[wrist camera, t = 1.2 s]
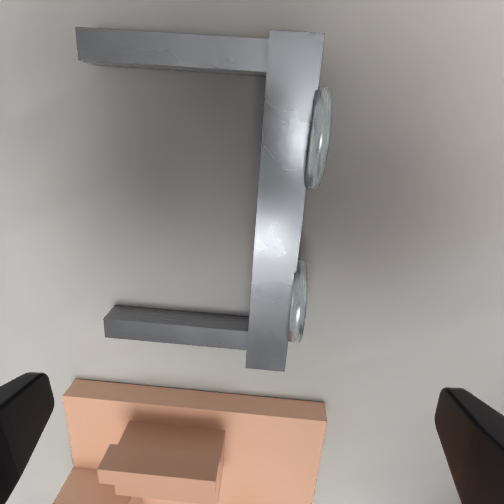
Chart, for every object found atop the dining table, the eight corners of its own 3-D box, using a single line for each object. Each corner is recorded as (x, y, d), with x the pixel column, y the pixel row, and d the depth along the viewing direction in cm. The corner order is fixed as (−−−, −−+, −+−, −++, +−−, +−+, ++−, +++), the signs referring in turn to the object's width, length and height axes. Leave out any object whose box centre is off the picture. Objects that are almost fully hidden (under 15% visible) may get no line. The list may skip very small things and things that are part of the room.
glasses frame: (327, 49, 16) (344, 25, 12) (291, 338, 21) (295, 389, 17) (93, 35, 16) (33, 7, 12) (116, 322, 21) (80, 369, 17)
